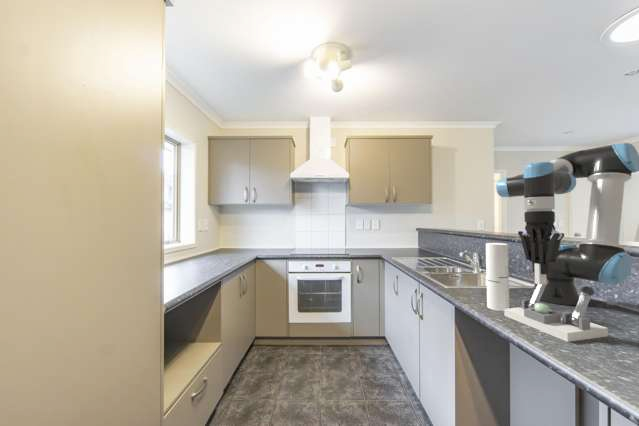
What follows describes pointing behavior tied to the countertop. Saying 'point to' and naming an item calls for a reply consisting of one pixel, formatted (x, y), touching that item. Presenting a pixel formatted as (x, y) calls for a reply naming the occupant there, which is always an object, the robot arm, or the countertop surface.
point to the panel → (556, 323)
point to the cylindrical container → (497, 276)
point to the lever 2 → (581, 306)
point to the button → (541, 308)
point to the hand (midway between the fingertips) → (540, 283)
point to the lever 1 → (536, 295)
